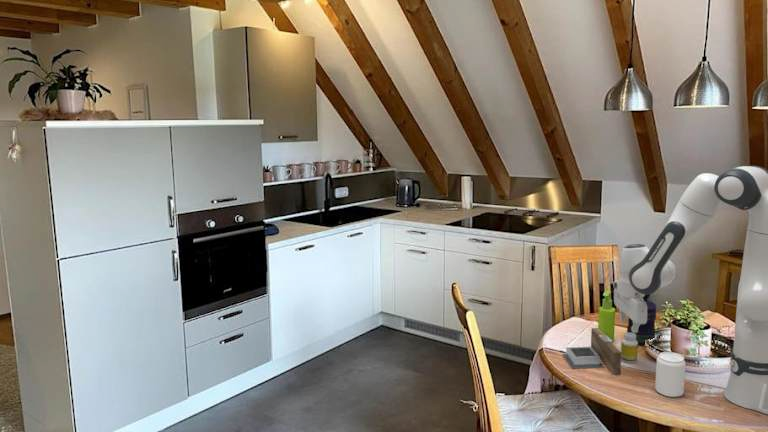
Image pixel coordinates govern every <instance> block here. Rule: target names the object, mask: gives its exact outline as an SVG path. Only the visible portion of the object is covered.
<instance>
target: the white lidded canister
mask: <svg viewBox="0 0 768 432" xmlns="http://www.w3.org/2000/svg"><path fill="white" fill-rule="evenodd" d="M655 367H656V369H655V385H654V387H655V391H656V392H657V393H659V394H661V395H663V396H666V397H670V398H676V397H677V398H678V397H681V396H683V395H684V392H685V377H686V361H685V358H684V356H683V355H681V354H680V353H677V352H671V351H664V352H663V351H662V352H660V353H659V354H658V356H657V357H656V366H655Z"/></svg>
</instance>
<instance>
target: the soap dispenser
mask: <svg viewBox="0 0 768 432" xmlns="http://www.w3.org/2000/svg"><path fill="white" fill-rule="evenodd" d="M611 293H612V291H610V290H605V291H604V292H603V294H602V296H603V297H604V298H603V299H602V306H599V307H598V320H597V321H598V323H597V324H598V325H597V328H598V329H599V330H600V331H601V332H602V333H603V334H604V335H607V336H608V337H609V338H610V339H611V340H612V341H613V344H614V343H615V327H616V326H615V325H616V324H615V323H616V308H614V307H613V300H612V299H611Z"/></svg>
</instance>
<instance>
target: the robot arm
mask: <svg viewBox="0 0 768 432" xmlns="http://www.w3.org/2000/svg"><path fill="white" fill-rule="evenodd" d="M724 203H725V204H727V205H729V206H731V207H733V208H734V207H735V208H737V209H739V210H741V211H748V223H747V229H746V236H745V243H744V248H743V249H744V250H743V254H742V255H743V256H742V263H741V271H740V278H739V282H738V288H737V299H736V300H737V301H736V310H735V311H736V313H735V323H734V325H735V326H734V339H733V350H732V351H731V353H730V354H731V355H730V372H729V377H728V380H727V381H728V382H727V384H726V387H725V388H724V391H723V395H724V397H725V399H727V400H728V401H729V402H730V403H733V404H735V405H737V406H739V407H742V408H745V409H749V410H754V411H757V412H760V413H763V414H765V415H768V170H767V169H766V168H765V167H762V166H759V165H748V166H746V165H743V166H737V167H734V168H731V169H727V170H725V171H723V172H722V173H721V174H720V175H717V174H715V173H709V172H707V173H706V172H705V173H704V172H702V173H701V174H698V175H697V176H696V177H695V178H694V179H693V180H692V181H691V182H690V184H689V185H688V186H687V188H686V189H685V191H684V192H683V193H682V195H681V197H680V198H679V200H678V202H677V204H676V206H675V208H674V209H673V211H672V213H671V215H670V217H669V219H668V220H667V222H666V224H665V225H664V227H663V230H661V233H660V234H659V235H658V237H657V238H656V239H655V241H654V243H653V244H652V246H651V247H650V249H649V247H648V246H647V245H645V244H640V243H634V244H629V245H626V246H624V247H623V248H622V250H621V253H620V257H619V264H618V265H619V267H618V270H619V277H618V280H616V281H613V282H612V283H613V285H612V286H613V288H614V289H613V303H614V306H615V307H617V308H618V310H619V311H618V312H619V317H620V322H621V323H628V321H627V320H628V319H629V318H630V319H631V320H632V321H633V326H631V331H632V332H633V333H637V332H638V328H639V326H640V324H646V322H647V304H646V302H645V301H646V300H644V297H645V296H646V295H652V294H654V293H655V292H657V291H658V290H659V289H661V288H664V287H666V286H668V285H669V284H671V283H673V282H674V281H675V280H676V278H677V275H678V270H677V267H676V264H675V263H674V262H673V261H672V260H671V258H672V256H673V255H674V253H675V252H676V251H677V249H678V248H679V247H680V246H682V245H683V244H684V243H686V242H687V241H689V240H690V239H692V238H694V237H695V236H697V235H699V234H701V233H702V232H704V230H705V229H706V228H707V227H708V226H709V225H710V223H712V222H713V219H714V218H715V216H716V215H717V213H718V211H719V210H720V208H721V207H722V206H723V204H724ZM628 317H629V318H628Z"/></svg>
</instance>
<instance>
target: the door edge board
mask: <svg viewBox="0 0 768 432" xmlns="http://www.w3.org/2000/svg"><path fill="white" fill-rule="evenodd" d="M590 331H591V335H590V336H591V337H590V339H591V340H590V347H592V348H593V349H594V351H595V352H596V353H597V354H598V355H599V356H600V362H601V363H603V365H604V366H605V367H606V368H607V370H608V371H610V373H611V374H612V375H614V376H615V375H617V376H619V375H620V376H621V374H622V373H621V371H622V370H621V369H622V368H621V367H622V360H621V350H619V349H618V347H617V346H616V345H615V344H614V343H613V341H612V340H611V339H610V338H609V337H608V336H607V335H604V334H603V333H602V332H601V331H600V330H599V329H598V327H595V328H593V327H592V328H591V330H590Z"/></svg>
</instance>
